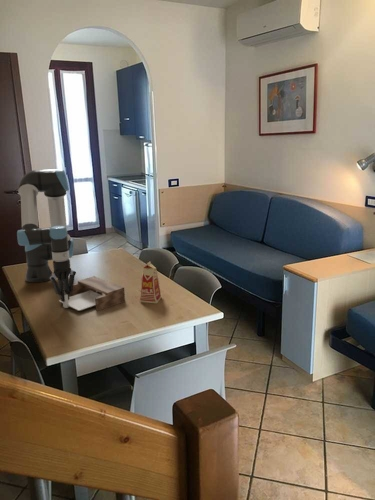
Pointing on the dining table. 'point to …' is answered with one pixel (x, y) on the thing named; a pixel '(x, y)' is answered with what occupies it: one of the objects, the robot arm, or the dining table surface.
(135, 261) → the dining table surface
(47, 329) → the dining table surface
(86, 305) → the plate
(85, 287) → the overhang shelf
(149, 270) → the milk carton
